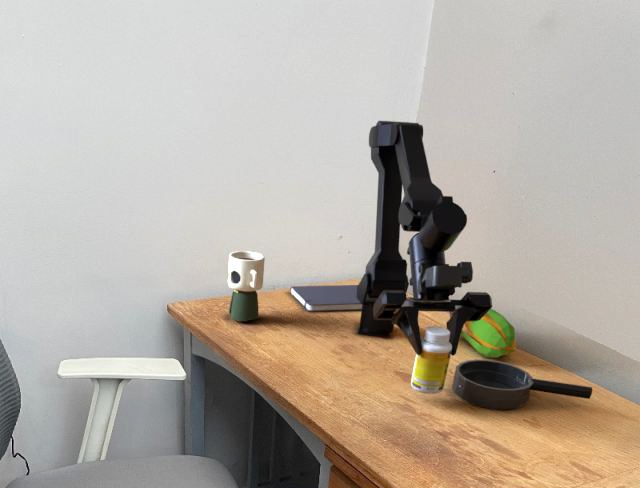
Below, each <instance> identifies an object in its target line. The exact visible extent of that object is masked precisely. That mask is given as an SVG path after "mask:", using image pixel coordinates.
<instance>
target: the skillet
mask: <svg viewBox="0 0 640 488" xmlns="http://www.w3.org/2000/svg"><path fill="white" fill-rule="evenodd" d="M532 378H533V376H532V375H531V374H530V373H529V372H527V371H526V370H524V369H523V368H520V367H518V366H515V365H513V364H510V363H506V362H503V361H497V360H491V359H471V360H470V359H469V360H465V361H462V362H459V363H458V364H457V365H456V366H455V369H454V375H453V379H452V383H451V389H452V391H453V393H454V394H455V395H456V396H458V398H459V399H462V400H463V401H465V402H466V403H468V404H470V405H471V404H472V405H474V406H477V407H481V408H485V409H490V410H504V411H505V410H513V409H517V408H520V407H523V406H525V405H527V404H528V402H529V400H530V397H531V393H532V391H533V390H532V387H533V383H534V382H533V381H532Z"/></svg>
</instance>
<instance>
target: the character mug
mask: <svg viewBox="0 0 640 488" xmlns="http://www.w3.org/2000/svg"><path fill="white" fill-rule="evenodd" d="M265 258H266V257H265V256H264V254H262V253H260V252H255V251H249V250H239V251H233V252H231V253H230V254H229V255H228V278H227V286H228V288H230V289H232V290H233V291H232V295H231V298H230V304H229V308H228V316H227V317H230V319H231V320H234V321H236V322H237V321H238V322H248V321H252V320H256V319H258V318H259V298H258V295H259V294H258V292H257V291H260V290H261V289H262V288H263V286H264V275H265Z"/></svg>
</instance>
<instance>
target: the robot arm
mask: <svg viewBox="0 0 640 488" xmlns="http://www.w3.org/2000/svg"><path fill="white" fill-rule="evenodd" d="M423 138H424V126H423V124H420V123H419V122H410V121H396V120H395V121H394V120H393V121H391V120H378V121H377V122H376V124H375V125H373V126H372V127H371V128H370V131H369V133H368V147H369V148H370V160H371V161H372V164H373V165H374V167H375V169H376V171H377V173H378V174H377V175H378V177H377V179H378V180H377V195H376V197H377V198H376V220H375V240H374V253H373V254H372V256H371V257H370V259H369V260H368V262H367V264H366V265H365V273H364V274H363V276H362V277H361V279H360V281H359V282H358V284H357V285H358V286H357V299H358V300H359V302H360V303H361V304H362V310H361V312H360V320H359V326H358V329H357V332H356V333H357V334H359V335H365V336H366V335H367V336H373V337H379V338H390V335H391V334H392V333H393V332H394V328H395V326H397V327H398V329H399V330H400V331H401V332H402V333H403V335H404V336H405V338H406V339H407V341H408V343H409V345H411V346H410V347H412V349H413V351H414V352H415V355H416V354H417V355H420V354H421V353H422V344H421V339H422V338H421V332H420V331H421V330H420V325H419V312H441V313H442V312H444V313H445V312H446V313H447V312H448V313H449V317H450V318H449V319H448V320H447V321H446V323H445V324H446V329H447V330H449V331H450V337H449V338H450V339H449V342H450V343H451V345H452V351H451V357H453V356H455V355H456V354H457V351H458V347H459V343H460V340H461V336H462V334H461V332H462V331H463V328H464V326H465V323H466V322H467V321H478V320H480V319H481V318H482V317H483V316H484V315H485V314H486V313H487V312H488V311H489V310H490V309H492V308H493V299H492V297H491V295H490V293H488V292H483V291H467V292H466V293H465V294H464V295H463V297H461V299H450V296H453V295H454V294H455V293H456V288H459V289H461V288H462V287H463V284H469V283H471V282H472V281H473V279H474V269H473V264H472V261H460V262H457V263H456V265H450V264H449V263H447V262H446V254H445V252H446V251H448V250H449V249H450V248H451V247H452V246H453V245H454V243H455V242H456V240H457V239H458V237H459V236H460V235H461V233H462V232H463V231H464V229H465V228H466V226H467V223H468V215H467V214H466V212H465V210H463V208H462V206H460V205H459V204H457V203H455V202H454V198H453V197H454V196H452V195H444V194H443V191H442V190H441V188H440V187H438V186H437V185H436V184H434V183H433V181H432V178H431V173H430V169H429V163H428V158H427V155H426V149H425V145H424V140H423ZM403 195H404V196H403ZM401 229H402V231H403V232H409V233H413V232H414V233H415V234H413V236H412V237H411V238H410V239H409V241H408V247H407V250H406V255H407V256H409V263H410V264H409V265H410V275H411V276H410V278H409V277H408V275H407V270H408V262H407V259H406V258H405V259H404V258H403V256H402V255H401V252H400V236H401ZM409 286H410V287H411V286H412V294H413V295H412V296H407V292H408V289H409Z"/></svg>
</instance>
